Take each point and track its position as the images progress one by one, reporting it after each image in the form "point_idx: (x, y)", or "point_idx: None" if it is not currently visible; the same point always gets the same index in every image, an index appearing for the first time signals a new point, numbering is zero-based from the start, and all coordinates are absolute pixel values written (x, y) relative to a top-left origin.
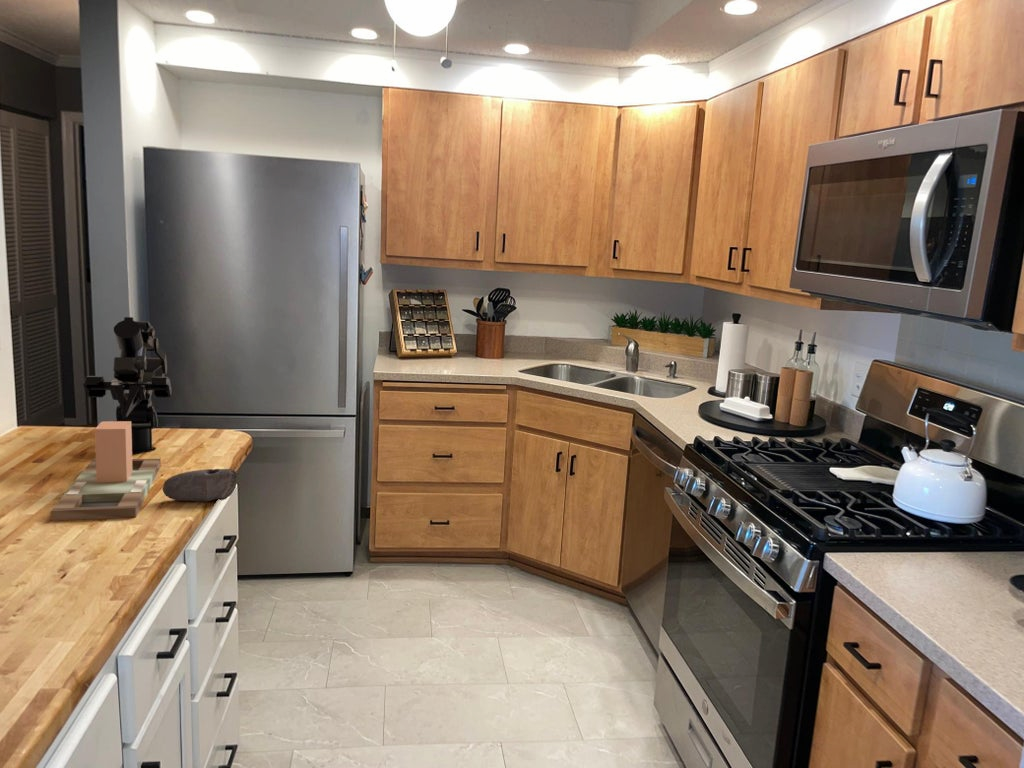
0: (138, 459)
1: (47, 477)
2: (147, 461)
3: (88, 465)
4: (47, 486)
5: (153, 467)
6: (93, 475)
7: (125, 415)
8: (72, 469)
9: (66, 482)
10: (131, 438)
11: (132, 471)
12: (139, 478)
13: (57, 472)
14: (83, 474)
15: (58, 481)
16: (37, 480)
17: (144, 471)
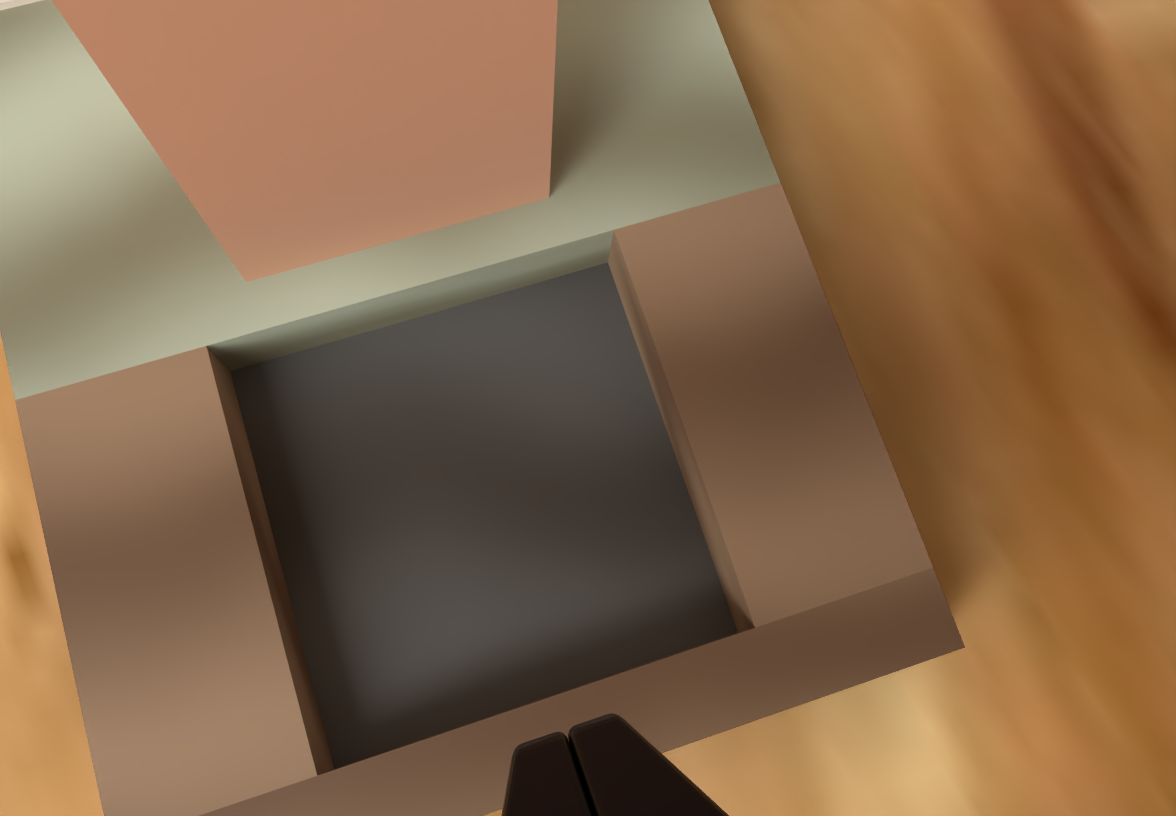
0: (409, 808)
1: (1135, 246)
2: (252, 747)
3: (861, 414)
4: (951, 10)
5: (68, 498)
6: (597, 89)
7: (538, 746)
8: (1091, 550)
9: (866, 140)
10: (77, 27)
11: (242, 274)
12: (69, 78)
13: (1161, 416)
14: (714, 101)
15: (955, 154)
16: (1154, 147)
17: (116, 325)
